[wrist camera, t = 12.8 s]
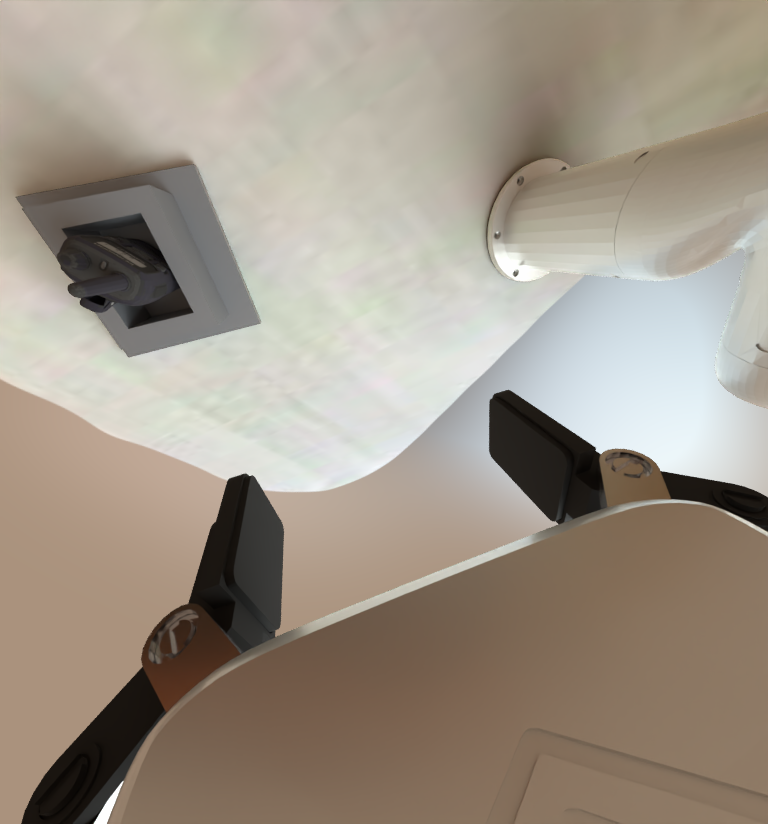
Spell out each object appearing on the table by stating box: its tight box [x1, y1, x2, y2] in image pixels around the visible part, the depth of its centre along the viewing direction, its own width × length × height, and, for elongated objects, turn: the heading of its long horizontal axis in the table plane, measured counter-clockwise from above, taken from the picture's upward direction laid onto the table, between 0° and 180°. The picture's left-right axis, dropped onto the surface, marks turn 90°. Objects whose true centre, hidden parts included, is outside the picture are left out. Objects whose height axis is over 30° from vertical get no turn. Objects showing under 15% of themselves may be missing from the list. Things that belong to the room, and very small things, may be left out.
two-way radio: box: [57, 235, 180, 313], centre depth 22 cm, size 6×4×15 cm
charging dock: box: [16, 164, 261, 357], centre depth 26 cm, size 14×14×6 cm
